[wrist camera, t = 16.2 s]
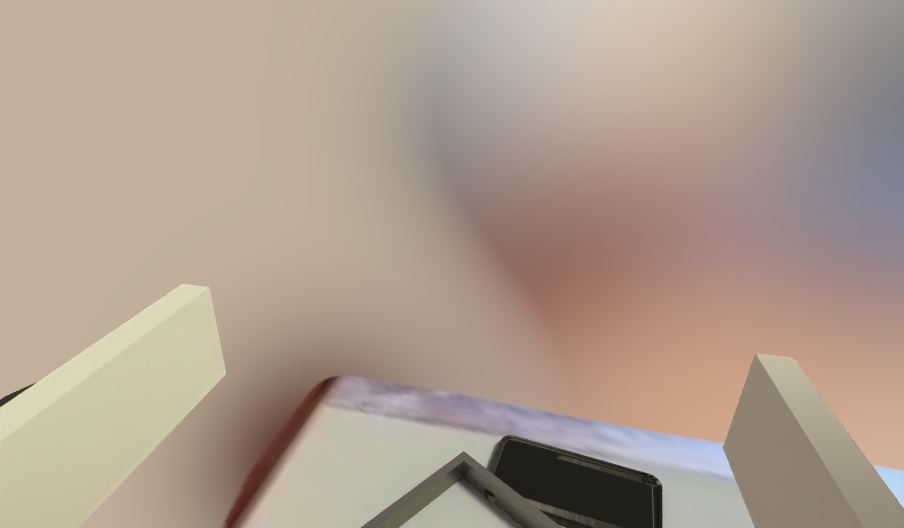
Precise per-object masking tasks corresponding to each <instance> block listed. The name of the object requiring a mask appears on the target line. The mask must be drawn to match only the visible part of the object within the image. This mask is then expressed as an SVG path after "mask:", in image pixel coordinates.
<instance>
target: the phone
mask: <svg viewBox="0 0 904 528" xmlns="http://www.w3.org/2000/svg"><path fill="white" fill-rule="evenodd" d="M489 471H490V472H491V473H492V474H494V475H495V476H496V477H497V478H499V479H500V480H501V481H503V482H504V483H505V484H506V485H508V486H509V487H510V488H512V489H513V490H514V491H515V492H517V493H518V494H519V495H521V496H522V497H523V498H524V499H526V500H527V501H528V502H530V503H531V504H532V505H533V506H535V507H536V508H537V509H539V510H540V511H541V512H542V513H544V514H545V515H546V516H548V517H549V518H550V519H551V520H553V521H554V522H555V523H556V524H559V525H562V526H565V527H568V528H662V484H661V483H660V481H659V480H658V479H657V478H656V477H655V476H653V475H651V474H648V473H644V472H641V471H637V470H634V469H630V468H627V467H623V466H620V465H616V464H612V463H609V462H605V461H602V460H598V459H595V458H591V457H588V456H584V455H581V454H577V453H574V452H570V451H567V450H563V449H559V448H556V447H552V446H549V445H545V444H542V443H538V442H535V441H531V440H528V439H524V438H521V437H517V436H513V435H508V436H505V437H503V438H502V439H501V441H500V443H499V446H498V449H497V451H496V454H495V456H494V459H493V461H492V464H491V467H490V469H489ZM484 496H485V498H486V499H487V500H488V501H490V502H492V503H495V497H494V496H493V495H492V494H490V493H489V492H488V491H487V490H486V489H484Z"/></svg>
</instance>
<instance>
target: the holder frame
mask: <svg viewBox="0 0 904 528" xmlns="http://www.w3.org/2000/svg"><path fill="white" fill-rule="evenodd" d="M462 477H464V478H465V479H466V480H468V481H469V482H470V483H471V484H472V485H474V486H475V487H476V488H477V489H479V490H480V491H481V492H482V493H483V494H484V489H486V490H487V491H488V492H489V493H490V494H492V495H493V496H494V497H495V504H497V505H498V506H499V507H500V508H502V509H503V510H504V511H505V512H506V513H508V514H509V515H510V516H511V517H512V518H514V519H515V520H516V521H517V522H518V523H520V524H521V525H522V526H523V527H525V528H562V527H560V526H559V525H558V524H556V523H555V522H554V521H553V520H551V519H550V518H549V517H548V516H546V515H545V514H544V513H542V512H541V511H540V510H539V509H537V508H536V507H535V506H533V505H532V504H531V503H530V502H528V501H527V500H526V499H524V498H523V497H522V496H521V495H519V494H518V493H517V492H515V491H514V490H513V489H512V488H510V487H509V486H508V485H506V484H505V483H504V482H503V481H501V480H500V479H499V478H497V477H496V476H495V475H494V474H492V473H491V472H490V471H488V470H487V469H486V468H485V467H483V466H482V465H481V464H479V463H478V462H477V461H476V460H474V459H473V458H472V457H471V456H469V455H468V454H467V453H465V452H464V451H463V452H462V453H461V454H459V455H458V456H457V457H455V458H454V459H453V460H451V461H450V462H449V463H447V464H446V465H445V466H443V467H442V468H441V469H439V470H438V471H437V472H435V473H434V474H432V475H431V476H430V477H428V478H427V479H426V480H424V481H423V482H422V483H420V484H419V485H418V486H416V487H415V488H414V489H412V490H411V491H410V492H408V493H407V494H406V495H404V496H403V497H401V498H400V499H399V500H397V501H396V502H395V503H393V504H392V505H391V506H389V507H388V508H387V509H385V510H384V511H383V512H381V513H380V514H379V515H377V516H376V517H375V518H373V519H372V520H370V521H369V522H368V523H366V524H365V525H364V526H362V527H361V528H399V527H400V526H401V525H403V524H404V523H405V522H406V521H408V520H409V519H410V518H411V517H413V516H414V515H415V514H416V513H418V512H419V511H420V510H422V509H423V508H424V507H425V506H427V505H428V504H429V503H430V502H432V501H433V500H434V499H436V498H437V497H438V496H439V495H441V494H442V493H443V492H444V491H446V490H447V489H448V488H450V487H451V486H452V485H453V484H455V483H456V482H457V481H458V480H460V479H461V478H462Z"/></svg>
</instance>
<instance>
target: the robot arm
mask: <svg viewBox="0 0 904 528" xmlns="http://www.w3.org/2000/svg"><path fill="white" fill-rule="evenodd" d="M225 375H226V370H225V365H224V360H223V355H222V350H221V345H220V340H219V335H218V330H217V325H216V320H215V315H214V310H213V305H212V299H211V295H210V289H209V287H204V286H195V285H187V284H182V285H180V286H179V287H177V288H176V289H174V290H173V291H171V292H170V293H168V294H167V295H165V296H164V297H162V298H161V299H159V300H158V301H157V302H155V303H154V304H152V305H151V306H149V307H148V308H146V309H145V310H143V311H142V312H140V313H139V314H137V315H136V316H134V317H133V318H132V319H130V320H129V321H127V322H125V323H124V324H123V325H121V326H120V327H118V328H117V329H115V330H114V331H112V332H111V333H109V334H108V335H106V336H105V337H103V338H102V339H101V340H99V341H98V342H96V343H95V344H93V345H92V346H90V347H89V348H87V349H86V350H84V351H83V352H81V353H80V354H79V355H77V356H75V357H74V358H72V359H71V360H69V361H68V362H66V363H65V364H64V365H62V366H61V367H59V368H58V369H56V370H55V371H53V372H52V373H50V374H49V375H47V376H46V377H44V378H43V379H41V380H40V381H38V382H36V383H34V384H32V385H30V386H28V387H25V388H23V389H21V390H19V391H16V392H14V393H12V394H10V395H7V396H5V397H4V398H2V399H1V400H0V528H79V527H80V526H81V525H82V524H83V523H84V522H85V521H86V519H88V518H89V517H90V515H91V514H92V513H93V512H94V511H95V510H96V509H97V508H98V507H99V506H100V505H101V504H102V503H103V502H104V501H105V500H106V499H107V498H108V497H109V496H110V495H111V494H112V492H114V490H115V489H116V488H117V487H118V486H119V485H120V484H121V483H122V482H123V481H124V480H125V479H126V478H127V477H128V476H129V475H130V473H132V472H133V471H134V469H136V467H137V466H138V465H139V464H140V463H141V462H142V461H143V460H144V459H145V458H146V457H147V456H148V455H149V454H150V453H151V452H152V451H153V450H154V449H155V448H156V447H157V445H159V443H160V442H161V441H162V440H163V439H164V438H165V437H166V436H167V435H168V434H169V433H170V432H171V431H172V430H173V429H174V428H175V427H176V426H177V425H178V424H179V423H180V422H181V421H182V419H183V418H184V417H185V416H186V415H187V414H188V413H189V412H190V411H191V410H192V409H193V408H194V407H195V406H196V405H197V404H198V403H199V402H200V401H201V400H202V399H203V397H205V396H206V394H207V393H208V392H209V391H210V390H211V389H212V388H213V387H214V386H215V385H216V384H217V383H218V382H219V381H220V380H221V379H222V378H223V377H224V376H225ZM723 449H724V452H725V454H726V457H727V459H728V462H729V464H730V467H731V469H732V472H733V474H734V477H735V479H736V482H737V484H738V487H739V489H740V492H741V494H742V497H743V499H744V501H745V504H746V506H747V509H748V511H749V514H750V516H751V519H752V521H753V524H754V526H755V528H904V508H903V507H902V506H901V504H900V503H899V502H898V500H897V499H896V498H895V496H894V495H893V493H892V492H891V491H890V489H889V488H888V487H887V485H886V484H885V482H884V481H883V480H882V478H881V477H880V476H879V474H878V473H877V472H876V470H875V469H874V467H873V466H872V465H871V463H870V462H869V461H868V459H867V458H866V456H865V455H864V454H863V452H862V451H861V450H860V448H859V447H858V446H857V444H856V443H855V441H854V440H853V439H852V437H851V436H850V435H849V433H848V432H847V431H846V429H845V428H844V427H843V425H842V424H841V422H840V421H839V420H838V418H837V417H836V415H835V414H834V413H833V411H832V410H831V409H830V407H829V406H828V405H827V403H826V402H825V401H824V399H823V398H822V396H821V395H820V394H819V392H818V391H817V390H816V388H815V387H814V385H813V384H812V383H811V381H810V380H809V379H808V377H807V376H806V374H805V373H804V372H803V371H802V369H801V368H800V366H799V365H798V363H797V362H796V361H795V360H794V358H790V357H782V356H773V355H765V354H757V353H755V356H754V359H753V362H752V364H751V367H750V370H749V373H748V376H747V379H746V382H745V385H744V388H743V391H742V394H741V397H740V399H739V402H738V406H737V408H736V411H735V414H734V417H733V420H732V423H731V426H730V429H729V432H728V435H727V438H726V440H725V443H724V446H723Z"/></svg>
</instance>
